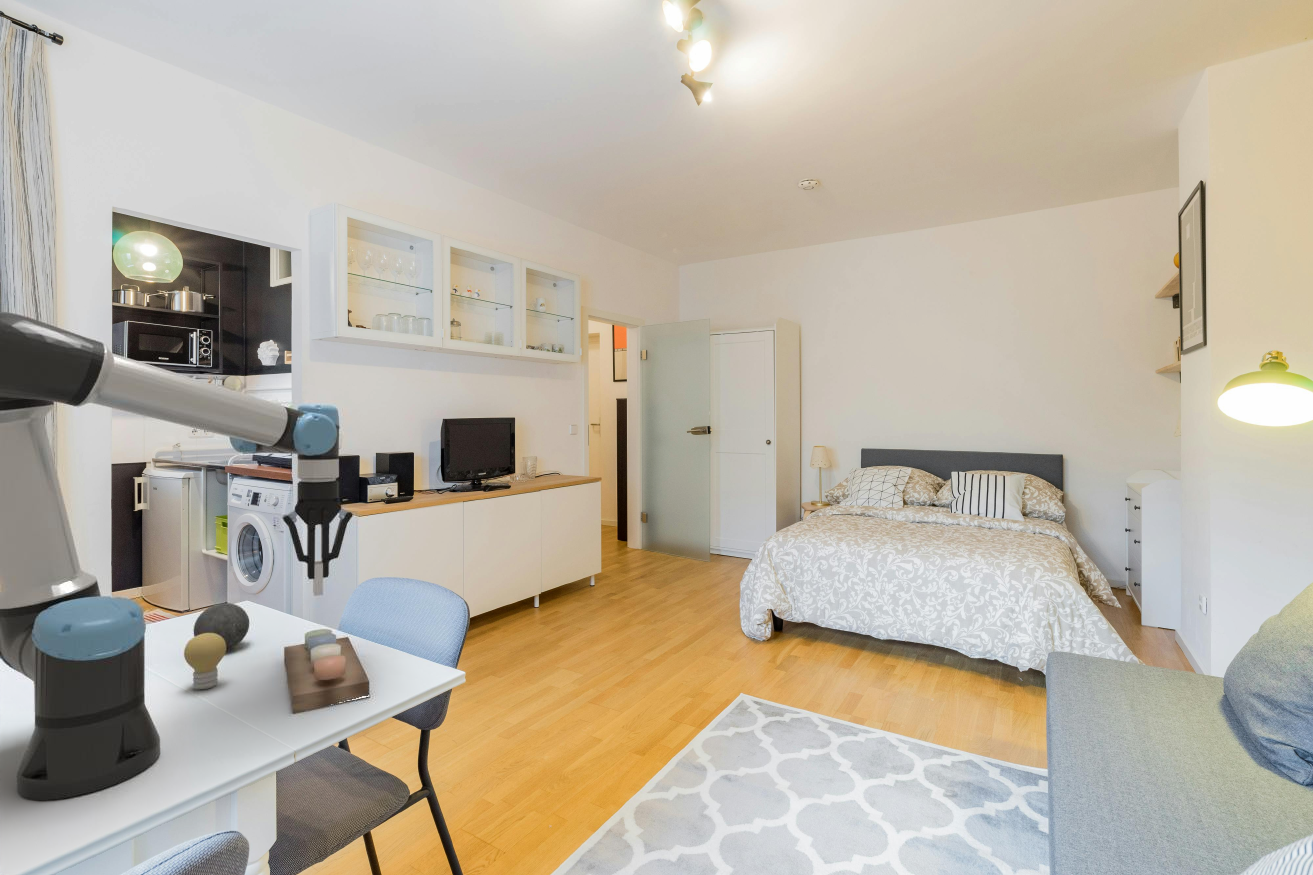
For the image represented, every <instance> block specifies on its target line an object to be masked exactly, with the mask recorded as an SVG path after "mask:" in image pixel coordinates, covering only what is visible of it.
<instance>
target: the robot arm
mask: <svg viewBox="0 0 1313 875" xmlns="http://www.w3.org/2000/svg"><path fill="white" fill-rule="evenodd" d="M55 403H60V404H64V405H69V406H73V407H76V408H78V407H79V408H80V407H82V406H85V405H87V404H88V405H89V404H96V405H98V406H103V407H106V408H107V407H108V408H111V409H115V410H119V411H124V412H126V413H131V414H135V415H140V416H145V417H147V418H148V417H149V418H151V419H155V420H160V421H164V422H167V423H172V424H177V425H180V426H185V427H187V428H188V427H189V428H193V429H197V430H202V431H205V432H210V433H213V434H217V435H222V436H225V437H229V440H230V444H231V447H232V448H233V450H234V451H236V452H237V453H242V454H243V453H245V454H249V453H250V454H258V453H267V454H268V453H271V454H287V455H289V454H294V455H297V479H299V481H298V482H297V486H296V487H297V495H296V496H297V501H296V504H295V506H294V510H292V511H291V512H289V513H287V514H284V515H282V520H283V522H284V523H285V524H286V526H288V528H289V533H290V537H291V540H292V544H293V547H294V550H295V551H294V552H295V554H296V558H297V560H298V562H303V563H305V564H306V565H307V567H306V569H307V570H306V572H307V573H306V574H307V577H308V578H307V579H308V580H313V587H312V588H313V596H314V597H315V596H317V597H318V596H323V594H324V578H329V575H330V574H329V573H330V561H332V560H334V559H338V558H339V556H340V553H341V549H342V545H343V541H344V537H345V534H346V530H347V526H348V523H349V522H350V520H351V519H352V517H353V516H354V515H353V512H351V511H349V510H346V509H345V508H343V507H342V503H341V502H340V496H339V492H340V487H339V486H340V484H339V483H340V482H339V481H338V480H337V479H338V478H339V477H340V469H339V468H340V463H339V462H340V459H339V454H340V452H339V448H340V428H341V426H340V416H339V410H338V408H337V407H336V406H334V405H329V404H328V405H325V404H300V405H298V406H297V409H295V408H290V407H287V406H284V405H281V404H279V403H276V402H275V403H274V402H272V401H269V400H265V399H262V398H260V397H255V396H253V395H249V394H246V393H243V392H240V391H237V390H233V389H229V388H227V387H224V386H220V385H218V384H217V385H216V384H213V383H211V382H206V381H203V380H200V379H196V378H193V377H190V376H187V375H184V374H181V373H178V372H174V371H172V370H168V369H166V368H165V369H164V368H161V367H158V366H155V365H151V364H148V363H145V362H141V361H138V360H135V359H132V358H129V357H125V356H123V355H119V354H115V353H113V352H111V351H110V350H109V348H108V347H107V344H106V343H104V342H101V341H98V340H95V339H92V338H89V337H87V336H83V335H80V334H77V333H75V332H71V331H68V330H66V329H63V328H60V327H58V326H55V325H51V324H49V323H46V322H44V321H41V320H37V319H35V318H31V317H29V316H25V315H21V314H17V313H12V312H7V311H0V582H1V586H2V590H1V592H0V659H1V661H2V662H3V663H4V664H5V665H7V666H8V667H9V668H11V669H12V670H14V671H15V672H18V673H21V674H22V675H23V676H25V677H27V678H28V679H30V680H31V681H33V684H34V686H33V687H34V695H33V696H34V698H33V699H34V730H33V732H32V735H31V737H30V740H29V742H28V745H27V747H26V749H25V752H24V755H23V757H22V760H21V762H20V765H19V768H18V770H17V773H16V792H17V793H18V795H19V796H20V797H23V798H25V799H29V800H37V801H38V800H39V801H46V800H47V801H49V800H50V801H51V800H58V799H66V798H72V797H77V796H81V795H85V794H89V793H93V792H96V791H99V790H103V789H106V788H108V787H111V786H113V785H114V786H115V785H117V784H118V783H121V782H123V781H126V780H128V779H130V778H132V777H134V776H136V775H138V774H140V773H142V772H143V771H145V770H146V769H148V768H149V767H150V766H152V765H153V764H154V763H155V762H156V761H157V760H158V758H159V756H161V755H160V754H161V737H160V734H159V733H158V730H157V727H156V725H155V724H154V722H153V719H152V717H151V715H150V712H149V710H148V707H147V706H146V703H145V701H146V700H145V698H146V697H145V696H146V695H145V689H146V688H145V685H146V684H145V670H146V669H145V668H146V667H145V666H146V665H145V661H146V660H145V659H146V658H145V655H146V654H145V652H146V651H145V643H146V642H145V641H146V640H145V637H146V636H145V634H146V628H147V625H146V620H145V619H144V611H143V607H142V606H141V605H140V604H139V603H138V601H137V602H136V601H135V600H134V599H133V600H132V599H131V598H127V597H122V596H121V597H120V596H116V597H111V596H110V595H109V596H108V595H106V596H104V595H103V596H102V594H101V591H100V587H99V582H98V579H97V577H96V576H95V575H93V574H90V573H89V572H85V571H84V570H82V569H81V566H80V561H79V558H78V557H79V556H78V553H77V549H76V545H75V541H74V537H73V534H72V528H71V525H70V524H71V523H70V521H69V517H68V512H67V508H66V504H65V501H64V496H63V492H62V488H61V485H60V480H59V476H58V472H57V469H56V463H55V461H54V460H55V459H54V455H53V452H52V446H51V443H50V439H49V435H48V431H47V427H46V423H45V419H46V417H47V415H48V414H49V413H50V412H51V411H52V410H53V409H54V408H55ZM338 514H339V515H338ZM337 515H338V518H339V522H338V527H337V529H336V533H335V538H334V542H333V545H332V549H331V552H330V524H331V523H332V522H333V521H334V519H335V517H337ZM297 516H298V517H299V518H300V519H301V520H302V521H303V522H304V523H305V525H306V529H307V530H306V531H307V535H306V536H307V537H306V538H307V539H306V542H307V543H306V545H307V546H306V549H307V550H306V554H304V549H303V547H302V543H301V540H300V535H299V532H298V528H297V526H296V523H297V522H298V521H297V520H298V519H297ZM318 525H319V526H320V529H321V531H320V533H321V534H320V535H321V536H320V538H321V540H320V542H321V544H320V546H321V547H320V550H321V552H320V554H321V555H320V556H321V557H320V559H321V560H317V561H316V526H318Z"/></svg>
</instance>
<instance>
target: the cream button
mask: <svg viewBox="0 0 1313 875" xmlns="http://www.w3.org/2000/svg"><path fill="white" fill-rule="evenodd" d="M330 655H341V646H340V645H338V644H324V645H319V646H316V647H314V648H312V649H311V666H314V661H315V660H317V659H319V658H321V657H325V656H330Z"/></svg>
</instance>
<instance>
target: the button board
mask: <svg viewBox="0 0 1313 875" xmlns="http://www.w3.org/2000/svg"><path fill="white" fill-rule="evenodd" d="M336 644H338V645H340V646H341V655H342V656H345V674H344V675H342V676H340V677H338V678H334V679H329V680H318V679H315V678H314V666H311V655H309V654H308V649H306V648H305V643H302V644H300V643H299V644H296V645H295V644H294V645H288V646H284V650H283V651H284V652H283V654H284V656H283V660H284V661H283V663H284V668H285V669H284V670H285V674H286V680H287V685H288V686H287V687H288V690H289V691H288V692H289V697H290V698H289V699H290V704H291V709H292V710H291V711H292V714H298V713H301V711H303V712H307V711H306V710H308V711H311V709H313V710H316V709H315V708H317V709H321V708H320V707H322V708H326V707H325V706H327V707H330V706H329V705H331V704H336V705H338V704H337V703H339V702H344V701H347V700H352V699H356V698H359V697H362V696H368V695H369V696H370V679H369V677H368V675H367V673H366V670H365V669H364V667H363V665H362V663H361V660H360V659H359V657H358V654H357V652H356V651H355V648H354V647H353V644H352V642H351V640H350V638H349V636H345V637H339V638H336ZM297 712H298V713H297Z"/></svg>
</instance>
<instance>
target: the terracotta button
mask: <svg viewBox="0 0 1313 875" xmlns="http://www.w3.org/2000/svg"><path fill="white" fill-rule="evenodd" d="M344 674H345V656H342V655H330V656H325V657H321V658H319V659H317V660H315V661H314V678H315V679H318V680H329V679H334V678H338V677H340V676H342V675H344Z"/></svg>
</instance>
